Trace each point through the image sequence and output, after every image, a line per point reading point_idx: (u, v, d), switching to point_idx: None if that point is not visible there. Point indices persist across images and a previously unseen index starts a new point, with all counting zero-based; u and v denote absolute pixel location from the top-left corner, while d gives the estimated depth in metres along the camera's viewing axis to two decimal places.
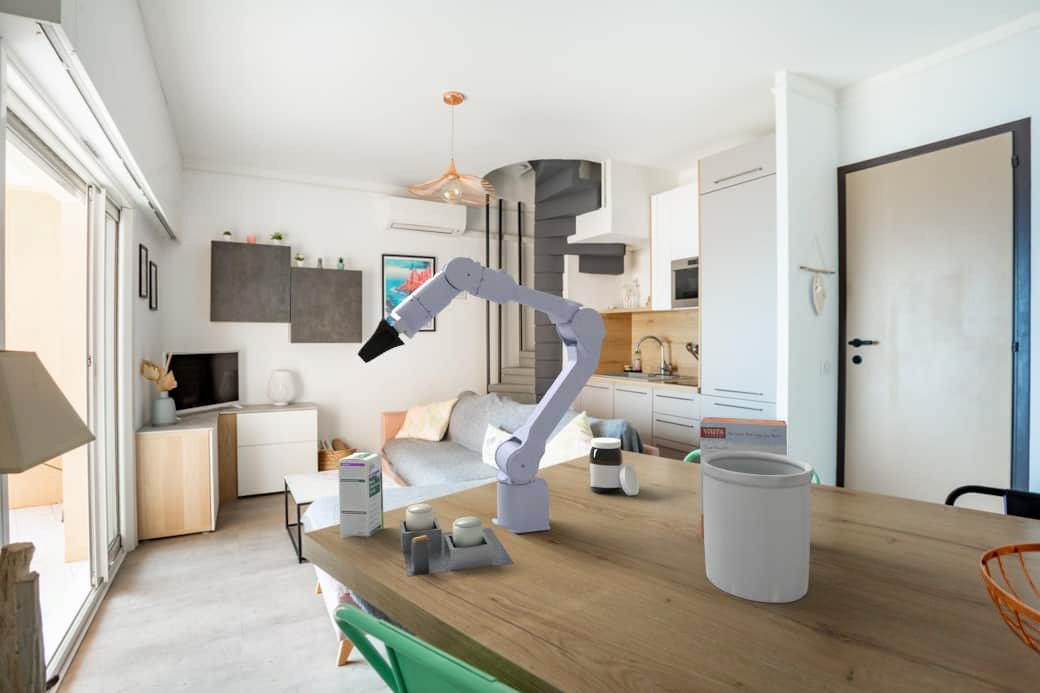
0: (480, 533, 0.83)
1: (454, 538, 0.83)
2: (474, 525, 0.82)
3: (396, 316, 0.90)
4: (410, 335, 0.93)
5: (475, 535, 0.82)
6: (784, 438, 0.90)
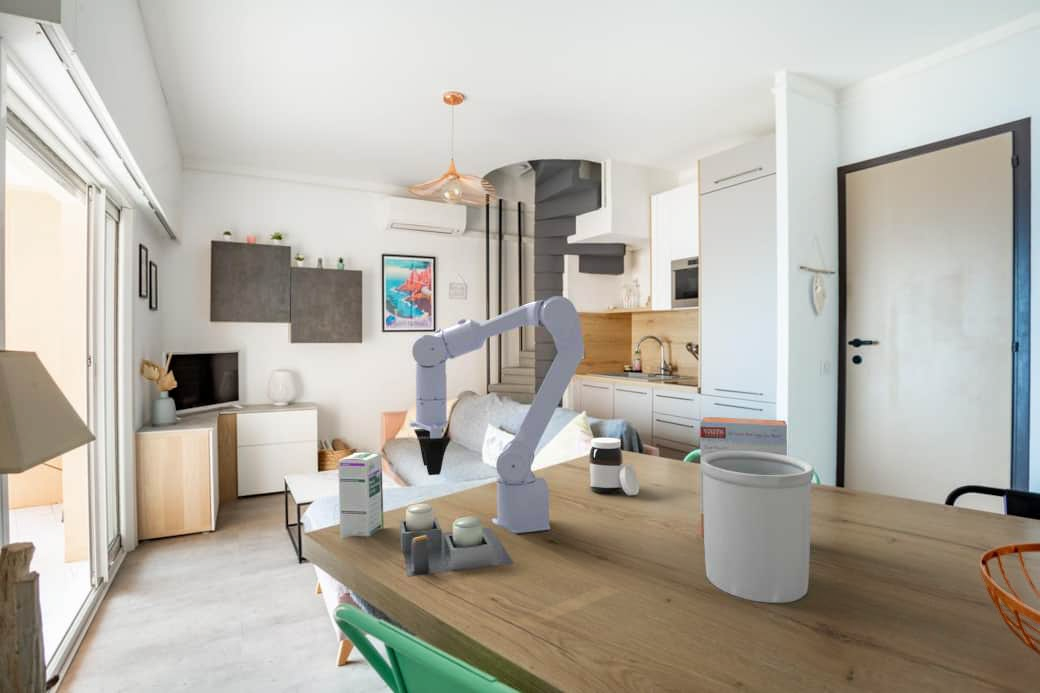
0: (480, 533, 0.83)
1: (454, 538, 0.83)
2: (474, 525, 0.82)
3: (425, 427, 0.98)
4: (445, 425, 1.01)
5: (475, 535, 0.82)
6: (784, 438, 0.90)
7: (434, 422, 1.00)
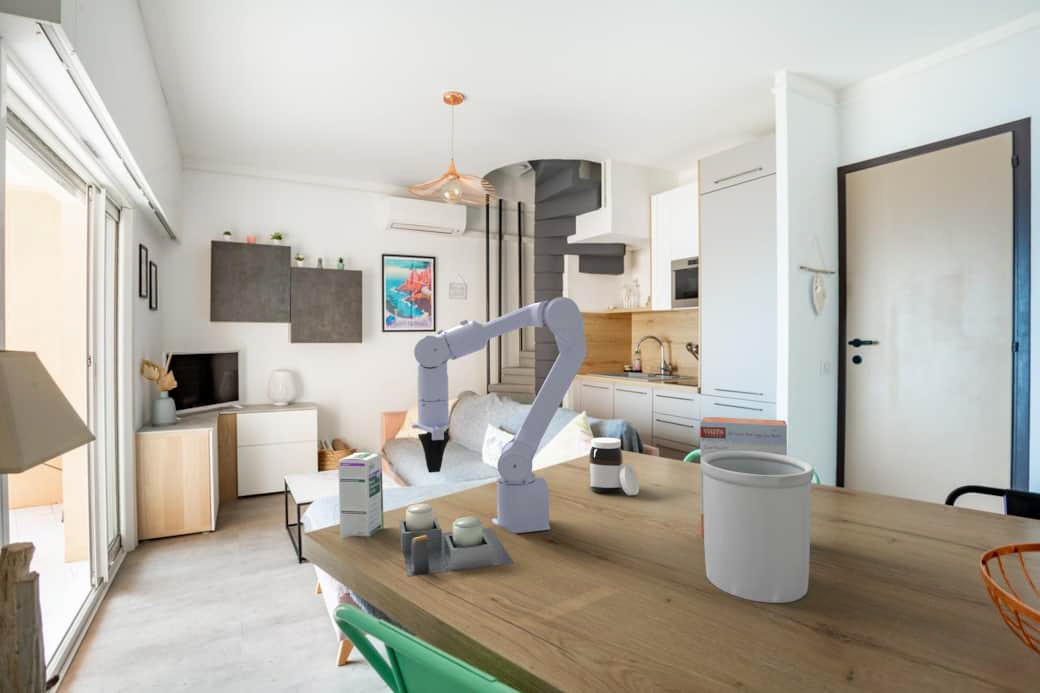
0: (480, 533, 0.83)
1: (454, 538, 0.83)
2: (474, 525, 0.82)
3: (427, 428, 0.97)
4: (447, 427, 1.00)
5: (475, 535, 0.82)
6: (784, 438, 0.90)
7: (436, 424, 0.99)
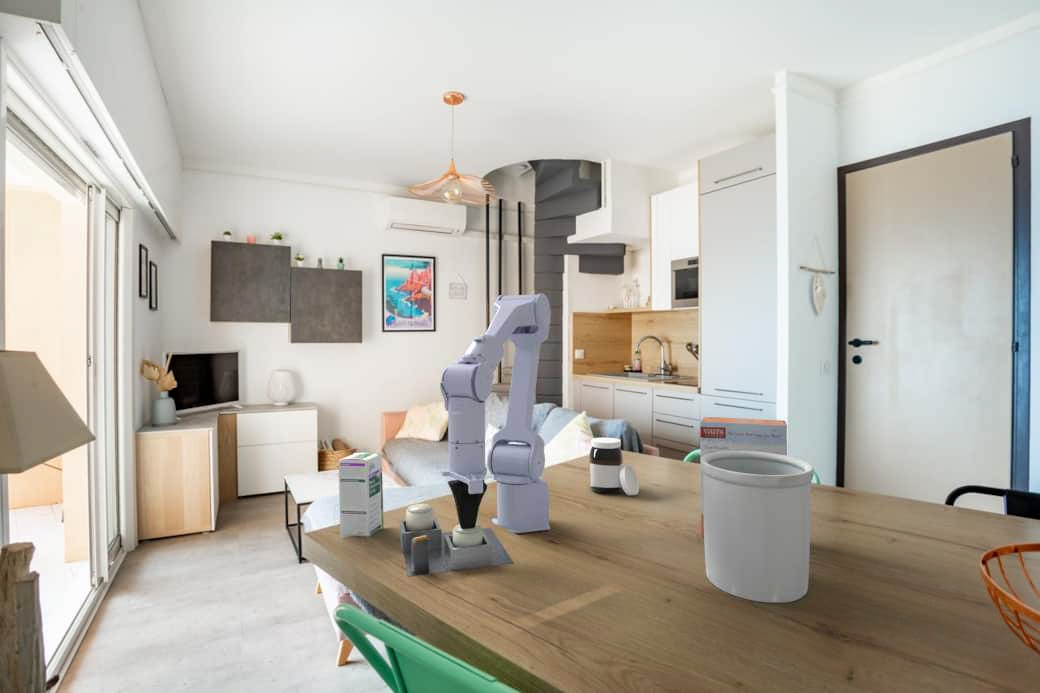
0: (480, 539, 0.83)
1: (454, 544, 0.83)
2: (474, 531, 0.82)
3: (462, 478, 0.79)
4: (485, 474, 0.82)
5: (475, 542, 0.82)
6: (784, 438, 0.90)
7: (471, 471, 0.81)
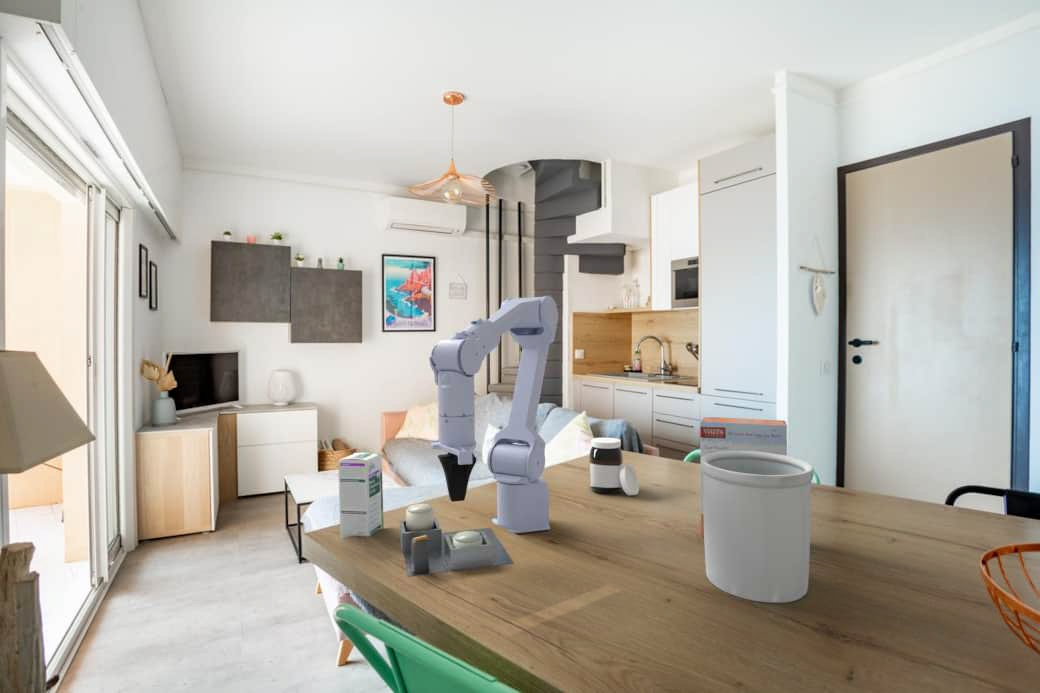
0: None
1: None
2: (474, 540, 0.82)
3: (451, 450, 0.80)
4: (474, 447, 0.84)
5: None
6: (784, 438, 0.90)
7: (461, 443, 0.82)
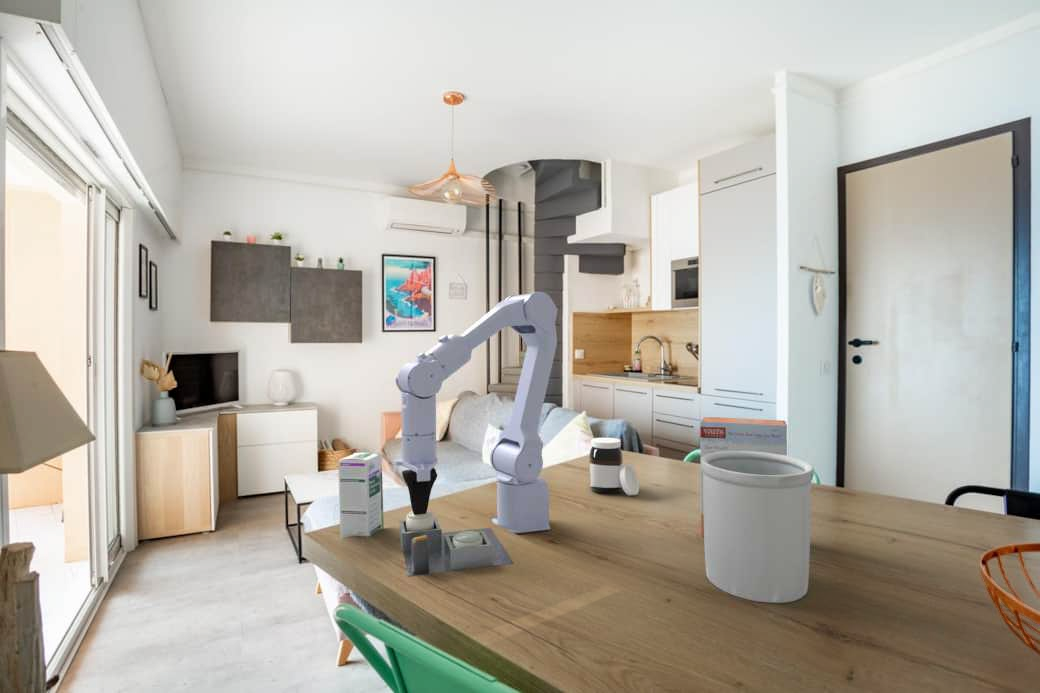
0: None
1: None
2: (474, 540, 0.82)
3: (412, 467, 0.86)
4: (435, 464, 0.89)
5: None
6: (784, 438, 0.90)
7: (422, 461, 0.88)
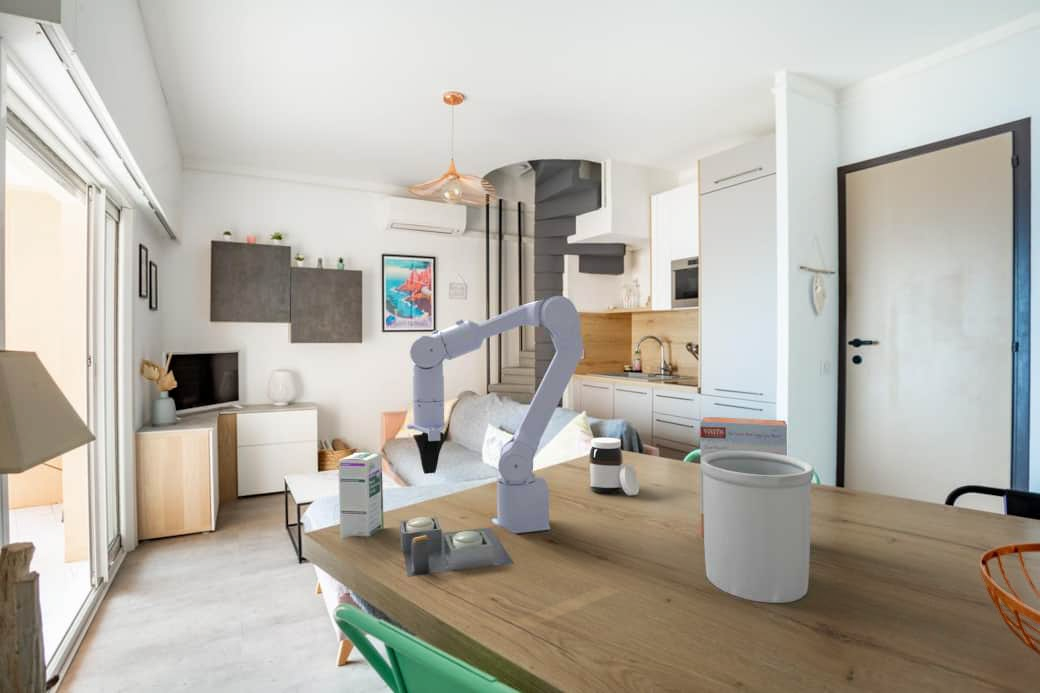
0: None
1: None
2: (474, 540, 0.82)
3: (423, 429, 0.96)
4: (443, 427, 1.00)
5: None
6: (784, 438, 0.90)
7: (432, 424, 0.98)
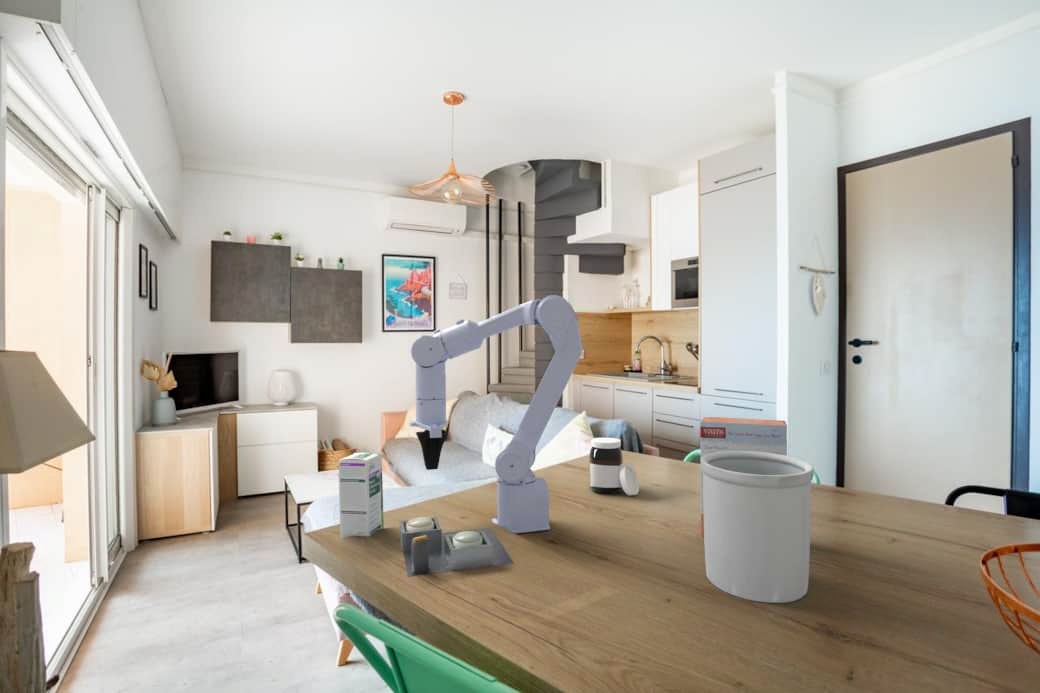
0: None
1: None
2: (474, 540, 0.82)
3: (425, 426, 0.99)
4: (445, 425, 1.02)
5: None
6: (784, 438, 0.90)
7: (434, 422, 1.01)
